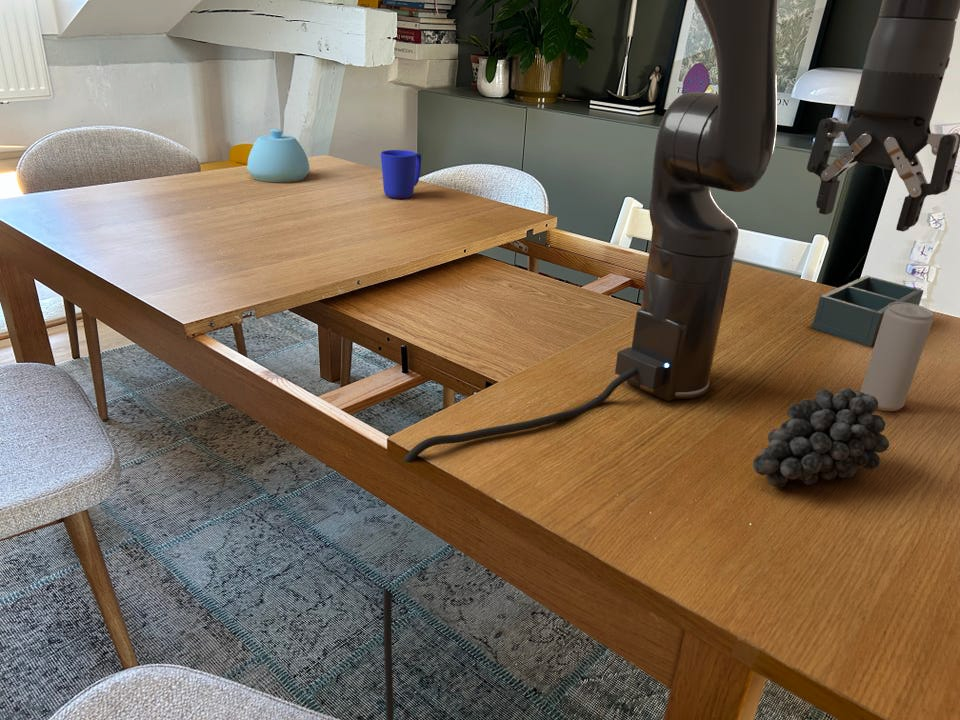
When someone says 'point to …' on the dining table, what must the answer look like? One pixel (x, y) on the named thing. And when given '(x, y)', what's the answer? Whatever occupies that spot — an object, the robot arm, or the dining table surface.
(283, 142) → the sugar bowl
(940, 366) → the dining table surface
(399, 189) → the mug
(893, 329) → the beverage can
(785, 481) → the fruit
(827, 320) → the divided storage box
